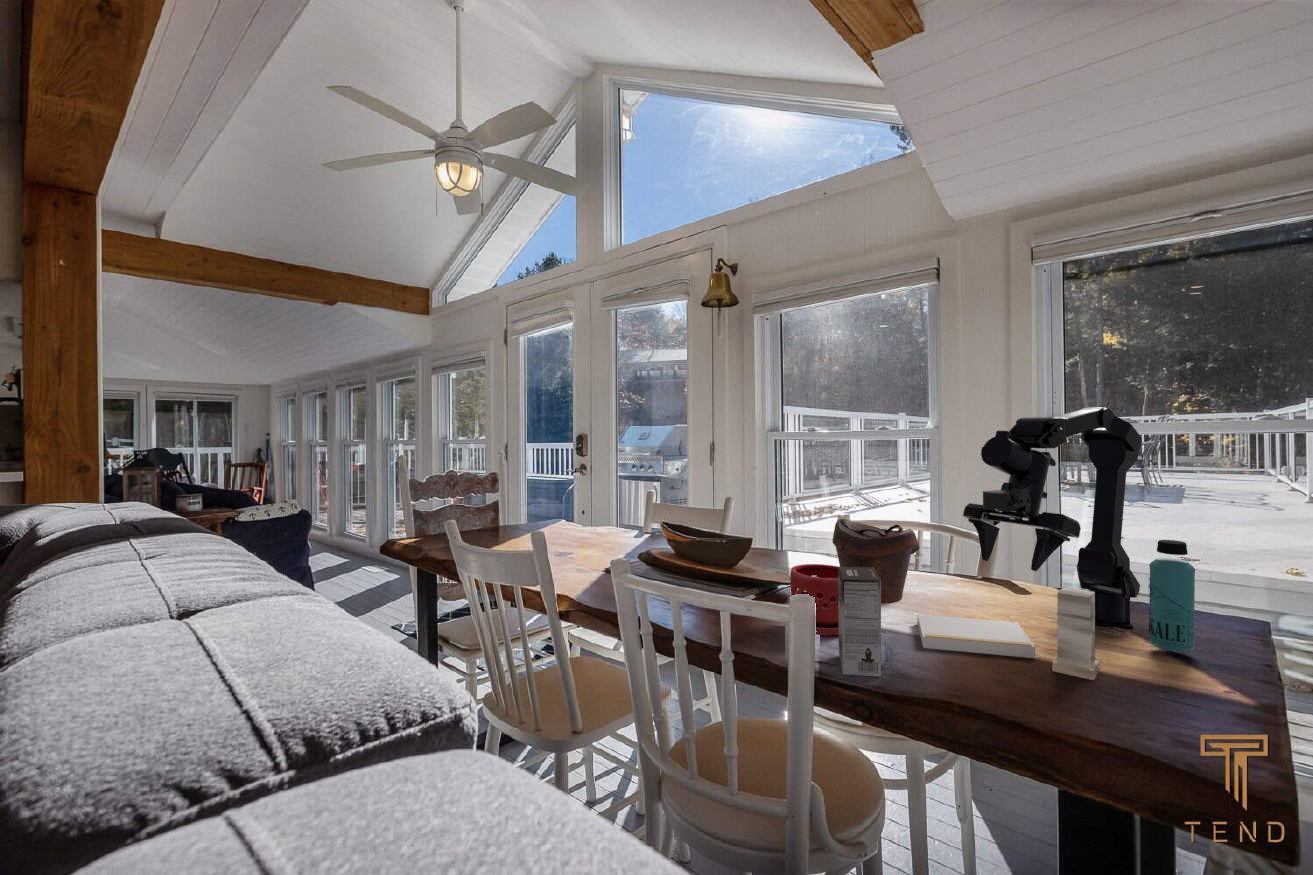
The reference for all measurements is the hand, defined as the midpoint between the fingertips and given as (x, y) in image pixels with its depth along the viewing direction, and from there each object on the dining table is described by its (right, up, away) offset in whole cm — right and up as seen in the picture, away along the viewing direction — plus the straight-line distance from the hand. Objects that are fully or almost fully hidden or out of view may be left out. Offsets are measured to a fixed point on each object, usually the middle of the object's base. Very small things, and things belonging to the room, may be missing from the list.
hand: (1008, 565), depth 112 cm
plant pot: (-30, -16, +13) cm, 36 cm away
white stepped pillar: (+6, -15, -9) cm, 19 cm away
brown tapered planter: (-11, -15, +37) cm, 41 cm away
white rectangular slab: (-4, -15, +6) cm, 17 cm away
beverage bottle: (+27, -15, -3) cm, 31 cm away
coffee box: (-29, -16, -6) cm, 34 cm away
